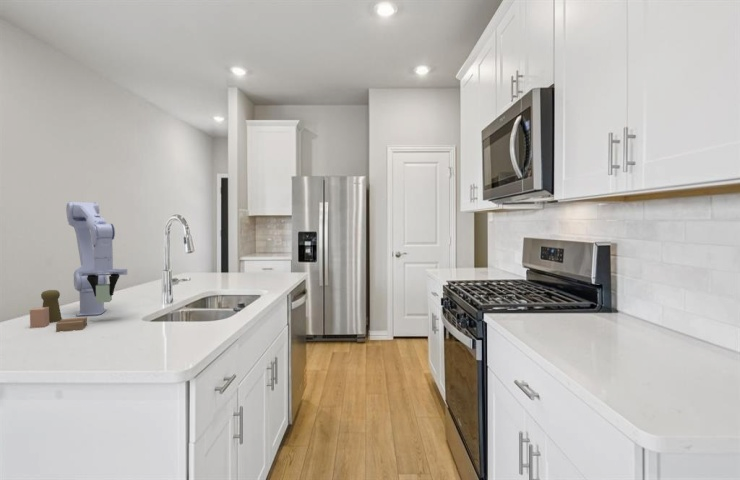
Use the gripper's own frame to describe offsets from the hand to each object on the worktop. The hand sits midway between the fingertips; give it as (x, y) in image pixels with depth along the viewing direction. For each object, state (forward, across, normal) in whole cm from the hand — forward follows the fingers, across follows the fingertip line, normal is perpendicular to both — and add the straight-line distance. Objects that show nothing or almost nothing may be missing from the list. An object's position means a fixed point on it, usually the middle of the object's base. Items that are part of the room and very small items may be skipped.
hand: (104, 295), depth 146 cm
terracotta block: (+9, -18, -2) cm, 20 cm away
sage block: (+2, 0, 0) cm, 2 cm away
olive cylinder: (+9, -17, +5) cm, 20 cm away
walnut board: (+9, -7, -9) cm, 15 cm away
